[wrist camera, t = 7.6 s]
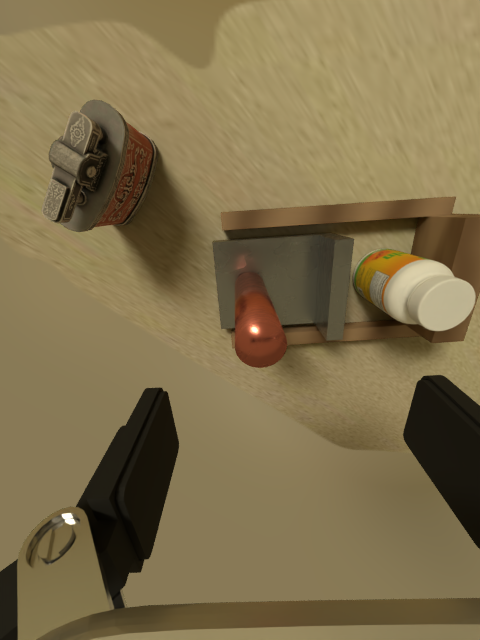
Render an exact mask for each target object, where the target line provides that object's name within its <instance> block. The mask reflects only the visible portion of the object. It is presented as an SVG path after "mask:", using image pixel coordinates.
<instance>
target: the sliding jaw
mask: <svg viewBox="0 0 480 640" xmlns="http://www.w3.org/2000/svg"><path fill="white" fill-rule="evenodd" d="M353 244H354V239H353V238H349V237H345V236H341V235H337V234H333V233H322V234H307V235H292V236H277V237H263V238H248V239H233V240H218V241H213V252H214V262H215V272H216V281H217V291H218V301H219V311H220V321H221V329H227V328H235V351H236V353H237V356H238V357H239V358H240V360H241V361H243V362H244V363H245V364H247V365H249V366H252V367H258V368H262V367H268V366H271V365H273V364H275V363H276V362H278V361H279V360H280V359H281V358H282V357H283V355H284V354H285V352H286V349H287V339H286V336H285V333H284V331H283V328H282V326H281V325H289V324H304V323H315V325H316V326H317V328H318V329H319V331H320V332H321V333H322V335H323V336H324V338H325V339H326V341H328V340H343V332H344V323H345V314H346V305H347V297H348V288H349V279H350V270H351V261H352V253H353Z"/></svg>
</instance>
